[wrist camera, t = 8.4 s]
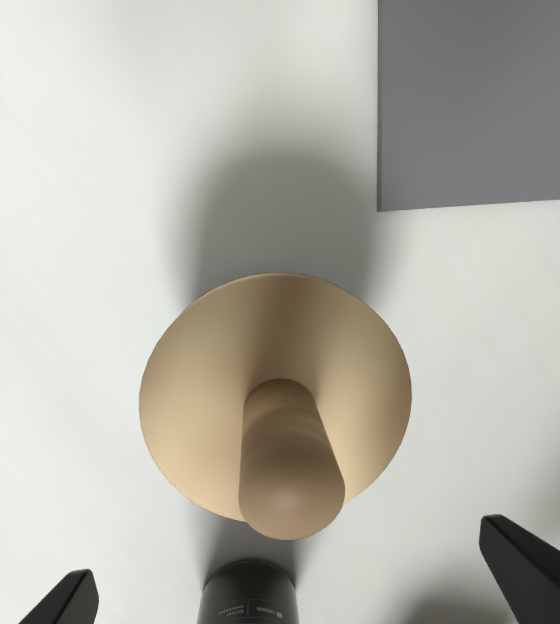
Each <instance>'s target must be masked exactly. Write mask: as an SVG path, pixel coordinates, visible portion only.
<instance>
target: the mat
mask: <svg viewBox="0 0 560 624" xmlns="http://www.w3.org/2000/svg"><path fill="white" fill-rule="evenodd" d="M558 199H560V0H378V172H377V212H378V211H393V210H408V209H423V208H438V207H453V206H468V205H483V204H498V203H513V202H528V201H543V200H558Z"/></svg>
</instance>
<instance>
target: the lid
mask: <svg viewBox="0 0 560 624" xmlns="http://www.w3.org/2000/svg"><path fill="white" fill-rule="evenodd" d="M411 401H412V392H411V379H410V373H409V368H408V365H407V362H406V359H405V356H404V353H403V350H402V348H401V346H400V344H399V342H398V340H397V338H396V337H395V335H394V334H393V332H392V331H391V330H390V328H389V327H388V325H387V324H386V323H385V322H384V321H383V320H382V318H381V317H380V316H379V315H378V314H377V313H376V312H375V311H374V310H373V309H371V308H370V307H369V306H368V305H366V304H365V303H364V302H362V301H361V300H360V299H358V298H356V297H355V296H353V295H352V294H350V293H348V292H346V291H345V290H343V289H341V288H340V287H338V286H336V285H333V284H331V283H329V282H326V281H324V280H321V279H318V278H314V277H310V276H306V275H301V274H292V273H264V274H257V275H250V276H247V277H243V278H240V279H236V280H233V281H230V282H228V283H226V284H223V285H221V286H219V287H216V288H215V289H213V290H211V291H210V292H208V293H206V294H205V295H203V296H201V297H200V298H199V299H197V300H196V301H195V302H194V303H192V304H191V305H190V306H189V307H187V308H186V309H185V310H184V311H183V313H182V314H181V315H180V316H179V317H178V318H177V319H176V320H175V321H174V322H173V323H172V324H171V325H170V326H169V327H168V329H167V330H166V331H165V333H164V334H163V336H162V337H161V338H160V340H159V341H158V342H157V344H156V346H155V348H154V350H153V352H152V354H151V356H150V358H149V360H148V362H147V365H146V368H145V371H144V374H143V377H142V383H141V388H140V395H139V415H140V423H141V429H142V433H143V436H144V440H145V443H146V445H147V448H148V450H149V452H150V455H151V457H152V459H153V460H154V462H155V464H156V465H157V467H158V468H159V470H160V471H161V473H162V474H163V475H164V476H165V477H166V479H167V480H168V481H169V482H170V483H171V484H172V485H173V486H174V487H175V488H176V489H177V490H178V491H179V492H180V493H181V494H183V495H184V496H185V497H187V498H188V499H190V500H191V501H192V502H194V503H195V504H197V505H199V506H201V507H203V508H205V509H206V510H208V511H211V512H213V513H216V514H218V515H221V516H223V517H227V518H230V519H234V520H238V521H243V522H247V523H248V524H249V525H250V526H251V527H252V528H253V529H254V530H256V531H257V532H259V533H261V534H262V535H265V536H267V537H270V538H274V539H280V540H295V539H301V538H305V537H308V536H311V535H313V534H315V533H317V532H319V531H321V530H322V529H324V528H325V527H327V526H328V525H329V524H330V523H331V522H332V521H333V520H334V519H335V518H336V516H337V515H338V513H339V512H340V510H341V508H342V505H343V504H345V503H347V502H349V501H350V500H352V499H353V498H354V497H356V496H357V495H359V494H360V493H362V492H363V491H364V490H365V489H366V488H367V487H368V486H370V485H371V484H372V483H373V482H374V481H375V480H376V479H377V478H378V477H379V476H380V474H381V473H382V472H383V471H384V470H385V469H386V467H387V466H388V464H389V463H390V462H391V460H392V459H393V457H394V455H395V454H396V452H397V450H398V448H399V446H400V444H401V442H402V439H403V437H404V434H405V432H406V429H407V425H408V421H409V417H410V410H411Z"/></svg>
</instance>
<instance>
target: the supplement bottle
mask: <svg viewBox="0 0 560 624" xmlns="http://www.w3.org/2000/svg"><path fill="white" fill-rule="evenodd" d="M197 624H299V615H298V607H297V599H296V592H295V589H294V586H293V584H292V582H291V580H290V579H289V577H288V576H287V575H286V574H285V573H284V572H283V571H282V570H281V569H279V568H278V567H276V566H274V565H272V564H270V563H267V562H263V561H255V560H248V561H240V562H236V563H233V564H231V565H228V566H226V567H224V568H223V569H221V570H220V571H218V572H217V573H216V574H215V575H214V576H213V577H212V578H211V579H210V581H209V582H208V583H207V585H206V587H205V589H204V591H203V594H202V598H201V603H200V608H199V614H198V620H197Z"/></svg>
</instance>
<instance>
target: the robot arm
mask: <svg viewBox="0 0 560 624" xmlns="http://www.w3.org/2000/svg"><path fill="white" fill-rule="evenodd" d="M479 546H480V550H481V553H482V555H483V557H484V559H485V561H486V563H487V565H488V567H489V568H490V570H491V572H492V574H493V576H494V578H495V580H496V582H497V583H498V585H499V587H500V589H501V591H502V593H503V595H504V597H505V599H506V600H507V602H508V604H509V606H510V608H511V610H512V612H513V614H514V616H515V617H516V619H517V621H518V623H519V624H560V551H559V550H558V549H556V548H555V547H553V546H551V545H550V544H548V543H546V542H545V541H543V540H542V539H540V538H538V537H537V536H535V535H534V534H532V533H530V532H529V531H527V530H526V529H524V528H522V527H521V526H519V525H518V524H516V523H514V522H513V521H511V520H510V519H508V518H506V517H505V516H503V515H500V514H493V515H486V516H483V518H482V519H481V527H480V537H479ZM98 604H99V596H98V592H97V588H96V584H95V580H94V577H93V573H92V571H91V570H90V569H83V570H76V571H72V572H70V573H68V574H67V575H66V576H65V577H64V578H63V579H62V580H61V581H60V582H59V583H58V584H57V585H56V586H55V587H54V588H53V589H52V590H51V591H50V592H49V593H48V594H47V595H46V596H45V597H44V598H43V599H42V600H41V601H40V602H39V603H38V604H37V605H36V606H35V607H34V608H33V609H32V610H31V611H30V612H29V613H28V614H27V615H26V616H25V617H24V618H23V619H22V621H21V622H20V623H19V624H94V621H95V617H96V614H97V610H98Z"/></svg>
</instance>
